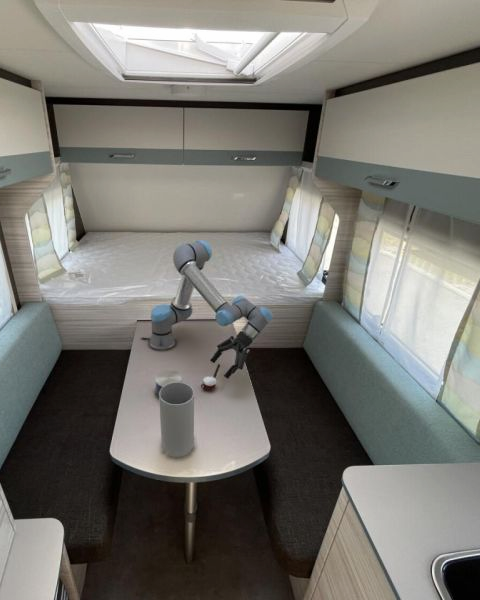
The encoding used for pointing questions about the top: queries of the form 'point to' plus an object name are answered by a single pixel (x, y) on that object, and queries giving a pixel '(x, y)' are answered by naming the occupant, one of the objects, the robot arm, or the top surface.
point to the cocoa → (210, 381)
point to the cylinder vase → (177, 418)
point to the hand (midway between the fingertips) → (218, 369)
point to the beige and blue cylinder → (166, 379)
